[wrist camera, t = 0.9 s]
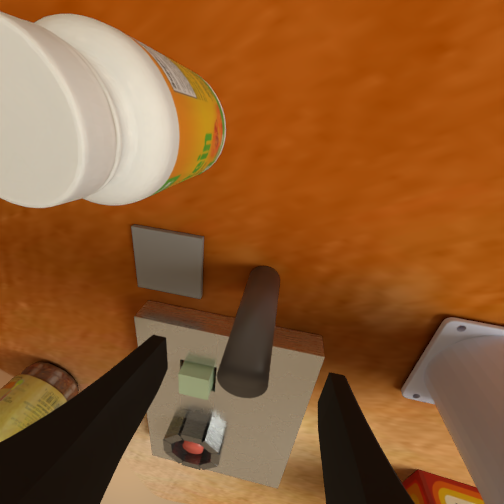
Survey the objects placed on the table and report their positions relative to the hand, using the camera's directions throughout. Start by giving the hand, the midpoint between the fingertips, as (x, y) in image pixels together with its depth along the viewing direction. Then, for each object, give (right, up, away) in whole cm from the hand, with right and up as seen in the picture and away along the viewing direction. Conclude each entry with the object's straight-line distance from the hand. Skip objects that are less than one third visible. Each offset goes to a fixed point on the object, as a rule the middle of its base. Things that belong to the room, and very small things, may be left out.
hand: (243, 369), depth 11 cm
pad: (-4, -5, +10) cm, 12 cm away
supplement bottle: (-4, +12, +3) cm, 13 cm away
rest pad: (-6, +4, +7) cm, 10 cm away
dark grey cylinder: (+1, +3, +7) cm, 8 cm away
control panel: (-2, -9, +13) cm, 16 cm away
